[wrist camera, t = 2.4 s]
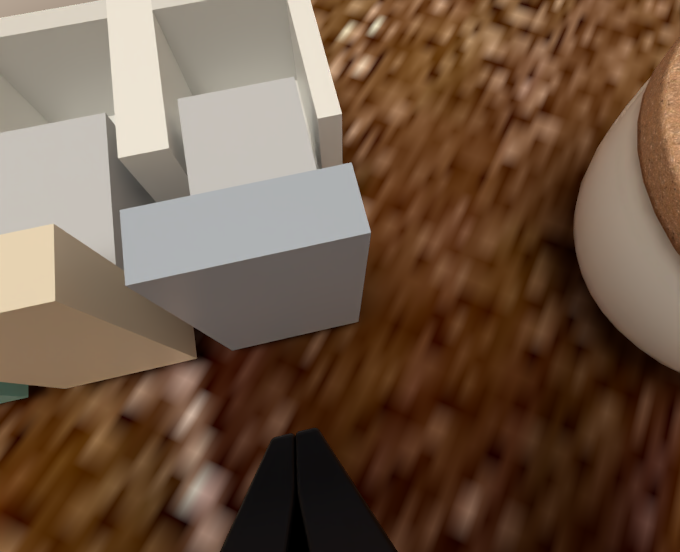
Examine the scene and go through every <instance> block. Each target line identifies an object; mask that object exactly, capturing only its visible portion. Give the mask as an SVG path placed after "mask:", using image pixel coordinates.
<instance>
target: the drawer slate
mask: <svg viewBox="0 0 680 552" xmlns="http://www.w3.org/2000/svg"><path fill="white" fill-rule="evenodd" d="M177 100H178V107H179V115H180V122H181V130H182V137H183V145H184V152H185V160H186V167H187V175H188V182H189V189H190V196H186V197H181V198H176V199H171V200H166V201H161V202H157V203H152V204H147V205H142V206H137V207H132V208H127V209H122V210H120V222H121V235H122V248H123V262H124V275H125V286H127V287H128V288H130V289H131V290H133V291H135V292H136V293H138V294H140V295H141V296H143V297H145V298H146V299H148V300H150V301H151V302H153V303H155V304H156V305H158V306H160V307H161V308H163V309H165V310H166V311H168V312H170V313H171V314H173V315H174V316H176V317H178V318H179V319H181V320H183V321H184V322H186V323H188V324H189V325H191V326H193V327H194V328H196V329H198V330H199V331H201V332H203V333H204V334H206V335H208V336H209V337H211V338H213V339H214V340H216V341H217V342H219V343H221V344H222V345H224V346H226V347H227V348H229V349H231V350H232V351H233V350H237V349H241V348H246V347H250V346H254V345H259V344H263V343H268V342H272V341H276V340H281V339H285V338H289V337H294V336H298V335H303V334H307V333H311V332H316V331H320V330H324V329H329V328H333V327H337V326H342V325H346V324H351V323H355V322H358V321H359V314H360V307H361V300H362V293H363V286H364V279H365V271H366V264H367V257H368V250H369V243H370V236H371V231H370V227H369V224H368V220H367V217H366V213H365V209H364V206H363V202H362V198H361V195H360V191H359V188H358V184H357V180H356V177H355V173H354V169H353V166H352V162H351V163H346V164H341V165H337V166H332V167H327V168H322V169H317V168H316V164H315V160H314V156H313V151H312V147H311V143H310V139H309V135H308V131H307V127H306V123H305V119H304V115H303V111H302V106H301V102H300V98H299V94H298V90H297V86H296V82H295V78H294V77H289V78H284V79H278V80H273V81H268V82H263V83H258V84H252V85H247V86H242V87H237V88H231V89H226V90H221V91H216V92H210V93H205V94H200V95H195V96H190V97H184V98H179V99H177Z"/></svg>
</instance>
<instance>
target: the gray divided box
mask: <svg viewBox="0 0 680 552" xmlns="http://www.w3.org/2000/svg"><path fill="white" fill-rule="evenodd" d="M289 77H294V78H295V82H296V86H297V90H298V94H299V98H300V102H301V106H302V111H303V115H304V119H305V123H306V127H307V131H308V135H309V139H310V143H311V147H312V151H313V156H314V160H315V164H316V168H317V169H322V168H327V167H332V166H337V165H341V164H342V112H341V109H340V105H339V102H338V98H337V94H336V91H335V87H334V84H333V80H332V77H331V73H330V69H329V66H328V62H327V59H326V55H325V51H324V48H323V44H322V41H321V37H320V33H319V30H318V26H317V23H316V19H315V16H314V12H313V8H312V5H311V1H310V0H100V1H94V2H88V3H83V4H77V5H71V6H65V7H60V8H54V9H48V10H43V11H37V12H32V13H25V14H20V15H14V16H8V17H3V18H0V133H2V132H7V131H12V130H17V129H22V128H28V127H33V126H38V125H43V124H49V123H54V122H59V121H64V120H69V119H75V118H80V117H85V116H90V115H96V114H101V113H106V114H107V115H108V117H109V118H110V119H111V120H112V122H113V123H114V124H115V126H116V139H117V152H118V159H119V160H120V161H121V162H122V163H123V165H124V166H125V167H126V168H127V169H128V170H129V171H130V173H131V174H132V175H133V176H134V177H135V178H136V179H137V181H138V182H139V183H140V184H141V185H142V186H143V188H144V189H145V190H146V191H147V192H148V193H149V194H150V196H151V197H152V198H153V199H154V200H155V201H156V202H161V201H166V200H171V199H176V198H181V197H186V196H190V189H189V182H188V175H187V167H186V160H185V152H184V145H183V137H182V130H181V122H180V115H179V107H178V100H177V99H179V98H184V97H190V96H195V95H200V94H205V93H210V92H216V91H221V90H226V89H231V88H237V87H242V86H247V85H252V84H258V83H263V82H268V81H273V80H278V79H284V78H289Z"/></svg>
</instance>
